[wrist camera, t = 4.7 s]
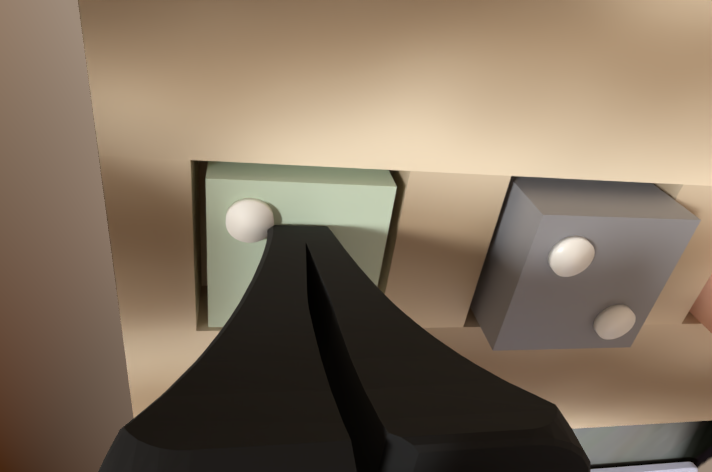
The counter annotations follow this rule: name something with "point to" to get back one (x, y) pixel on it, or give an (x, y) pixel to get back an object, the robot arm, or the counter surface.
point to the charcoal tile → (577, 262)
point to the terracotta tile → (704, 305)
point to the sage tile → (288, 219)
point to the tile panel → (409, 159)
